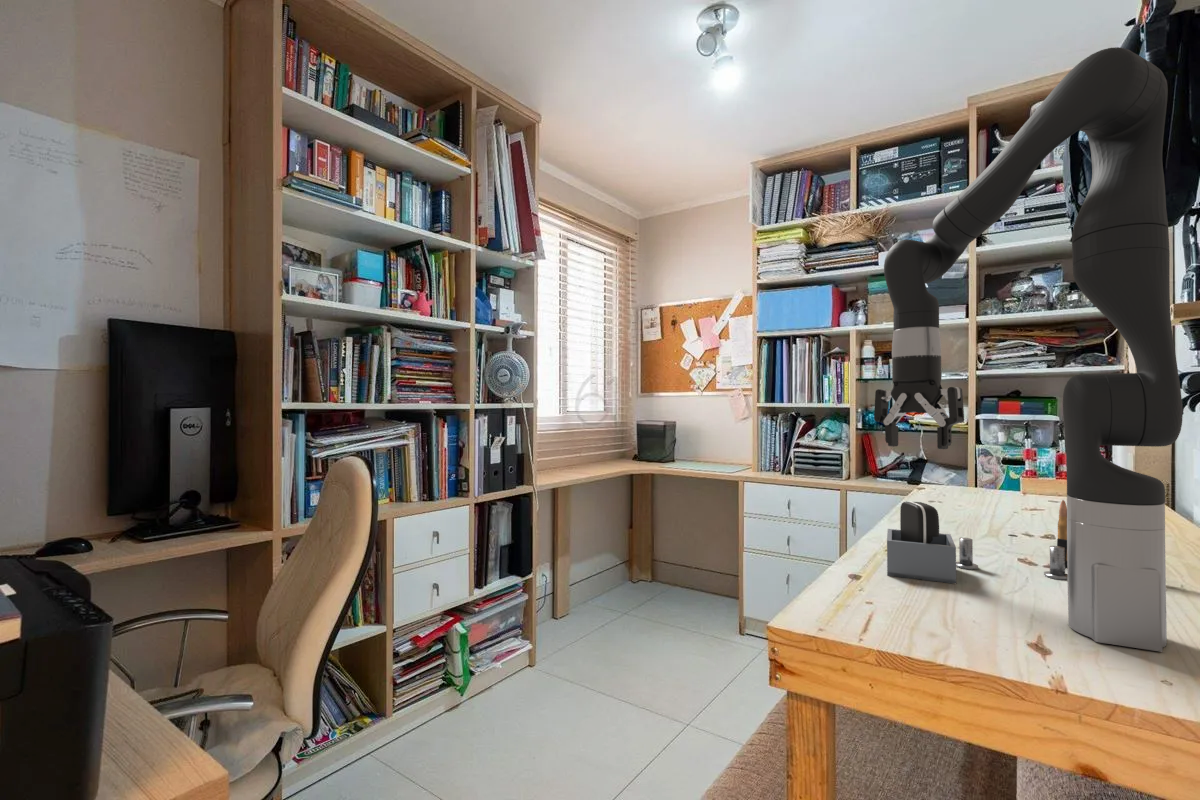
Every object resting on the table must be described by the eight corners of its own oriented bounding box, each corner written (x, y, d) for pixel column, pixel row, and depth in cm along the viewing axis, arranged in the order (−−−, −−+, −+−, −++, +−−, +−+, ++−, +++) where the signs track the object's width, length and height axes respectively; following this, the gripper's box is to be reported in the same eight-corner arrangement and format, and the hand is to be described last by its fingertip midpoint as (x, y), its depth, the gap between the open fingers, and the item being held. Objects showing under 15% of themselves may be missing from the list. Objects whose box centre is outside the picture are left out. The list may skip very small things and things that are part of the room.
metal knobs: (1074, 581, 92) (1073, 551, 92) (955, 567, 100) (955, 539, 100) (1068, 575, 95) (1067, 546, 95) (953, 562, 103) (953, 535, 103)
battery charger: (943, 574, 94) (942, 506, 94) (920, 574, 94) (919, 506, 94) (921, 562, 101) (920, 499, 101) (899, 562, 101) (899, 499, 101)
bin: (956, 584, 91) (955, 547, 91) (887, 575, 96) (887, 540, 96) (950, 567, 100) (950, 534, 100) (887, 560, 104) (887, 528, 104)
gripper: (971, 353, 94) (972, 449, 94) (888, 359, 106) (889, 444, 106) (948, 350, 90) (949, 451, 90) (865, 357, 102) (866, 446, 102)
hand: (916, 447), depth 98 cm, fingers open, 8 cm apart
